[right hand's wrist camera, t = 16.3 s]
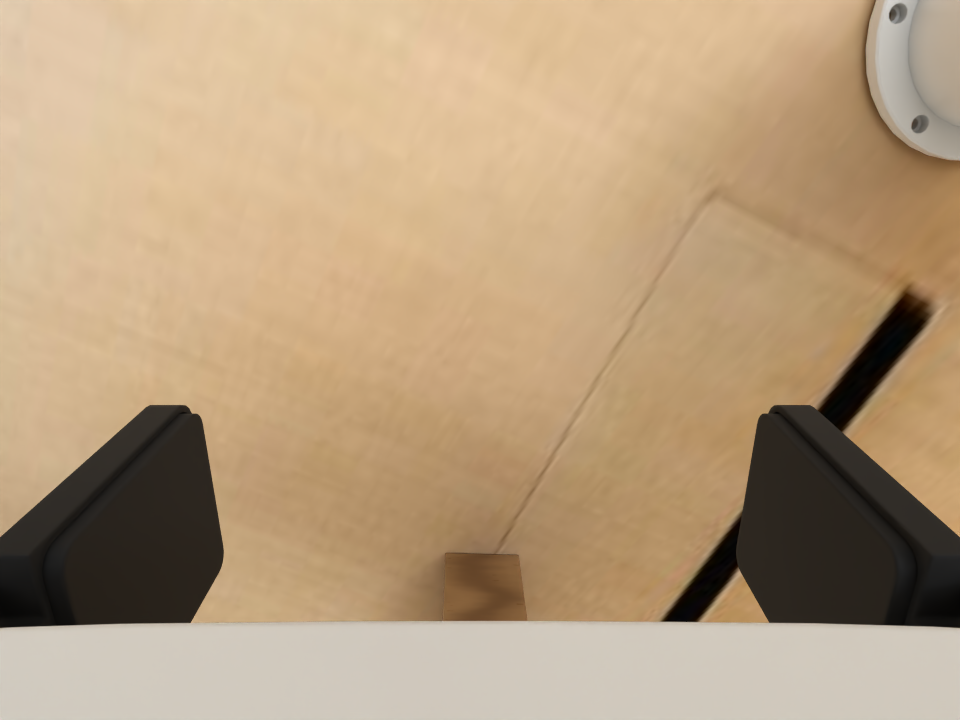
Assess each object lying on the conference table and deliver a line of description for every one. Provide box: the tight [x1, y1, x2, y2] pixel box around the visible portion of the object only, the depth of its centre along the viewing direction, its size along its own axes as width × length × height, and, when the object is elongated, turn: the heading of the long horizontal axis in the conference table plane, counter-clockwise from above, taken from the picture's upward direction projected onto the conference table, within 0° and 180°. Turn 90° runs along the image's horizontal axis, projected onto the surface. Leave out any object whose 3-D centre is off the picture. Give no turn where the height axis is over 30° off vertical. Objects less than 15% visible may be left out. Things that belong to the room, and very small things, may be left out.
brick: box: [442, 553, 527, 621], centre depth 40 cm, size 5×9×9 cm, turn 177°
